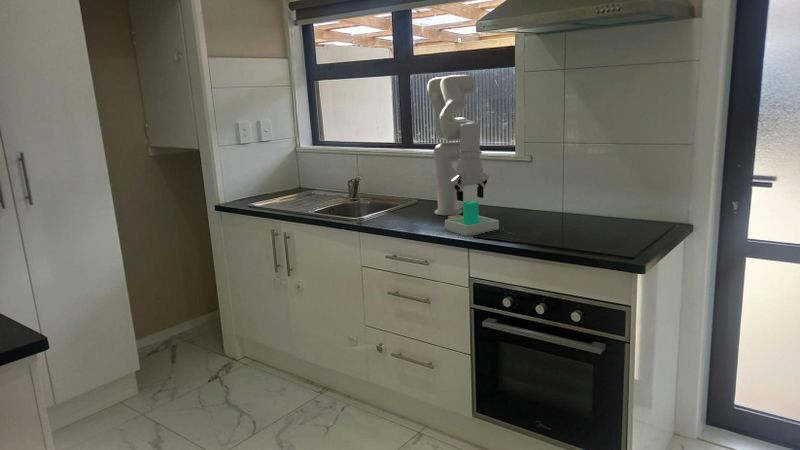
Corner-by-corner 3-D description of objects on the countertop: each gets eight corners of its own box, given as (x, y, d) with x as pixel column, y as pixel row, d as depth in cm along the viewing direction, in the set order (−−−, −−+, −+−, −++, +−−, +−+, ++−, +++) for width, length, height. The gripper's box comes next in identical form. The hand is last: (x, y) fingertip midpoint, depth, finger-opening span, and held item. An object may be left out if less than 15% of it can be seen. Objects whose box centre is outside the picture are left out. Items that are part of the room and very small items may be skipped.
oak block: (458, 224, 243) (457, 214, 242) (465, 226, 238) (464, 216, 237) (448, 225, 240) (447, 216, 239) (454, 227, 236) (454, 218, 235)
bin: (475, 224, 240) (475, 214, 239) (498, 230, 227) (498, 220, 226) (445, 229, 232) (444, 219, 232) (467, 236, 220) (467, 226, 219)
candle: (481, 227, 230) (481, 197, 227) (472, 230, 225) (472, 199, 223) (469, 225, 234) (468, 196, 231) (460, 228, 230) (459, 198, 227)
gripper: (481, 152, 231) (482, 194, 235) (445, 156, 223) (446, 200, 227) (493, 153, 225) (493, 197, 229) (456, 158, 216) (457, 203, 221)
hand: (470, 199), depth 228 cm, fingers open, 9 cm apart
